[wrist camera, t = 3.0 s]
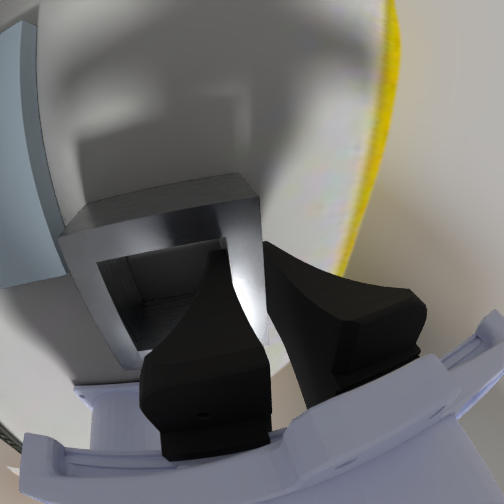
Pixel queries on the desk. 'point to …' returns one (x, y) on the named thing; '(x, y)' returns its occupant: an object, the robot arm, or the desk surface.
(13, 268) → the keeper board
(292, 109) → the desk surface
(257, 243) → the steel link
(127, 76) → the desk surface
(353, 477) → the robot arm
